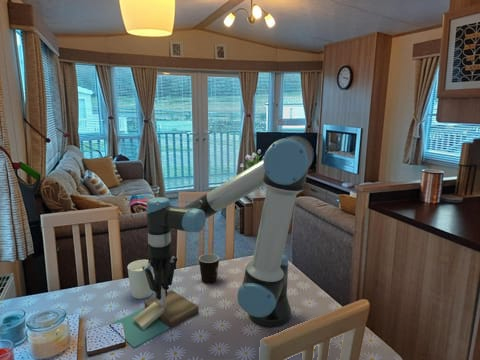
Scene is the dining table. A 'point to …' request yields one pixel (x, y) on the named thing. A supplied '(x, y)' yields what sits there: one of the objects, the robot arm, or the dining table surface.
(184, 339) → the dining table surface
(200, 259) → the coffee mug
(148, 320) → the light wooden block
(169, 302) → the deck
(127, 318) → the mat
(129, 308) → the dining table surface
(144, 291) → the candle holder
